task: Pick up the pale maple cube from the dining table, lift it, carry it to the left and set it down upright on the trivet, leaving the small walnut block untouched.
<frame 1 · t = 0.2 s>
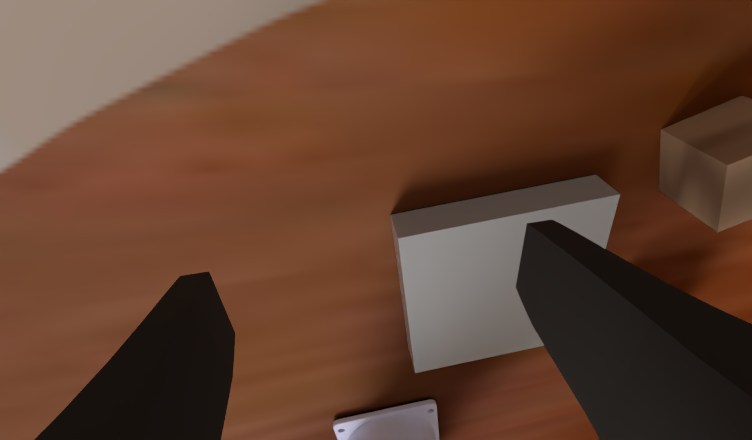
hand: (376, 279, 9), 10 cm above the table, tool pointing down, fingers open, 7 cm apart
trivet: (490, 271, 24), on the table
walnut block: (696, 145, 21), on the table
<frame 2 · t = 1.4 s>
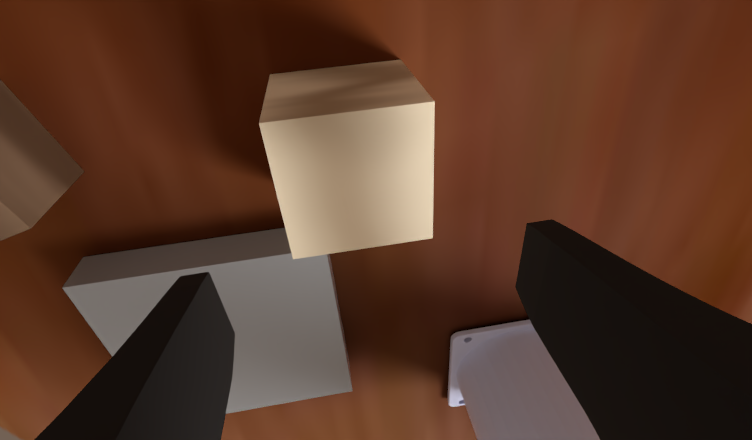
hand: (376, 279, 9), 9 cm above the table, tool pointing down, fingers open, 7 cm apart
trivet: (238, 318, 22), on the table
maple cube: (343, 127, 17), on the table
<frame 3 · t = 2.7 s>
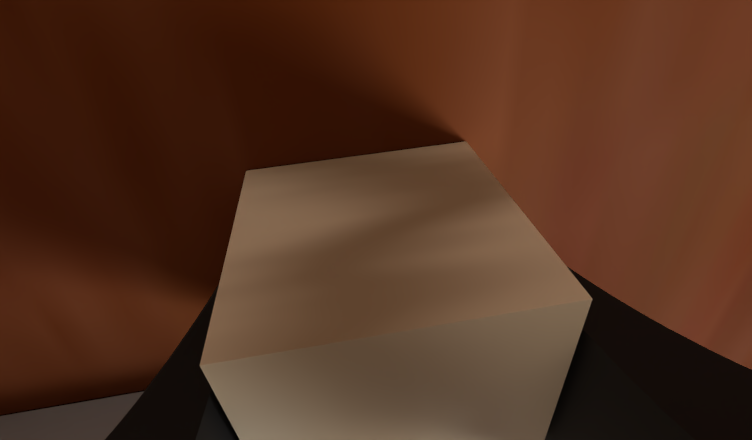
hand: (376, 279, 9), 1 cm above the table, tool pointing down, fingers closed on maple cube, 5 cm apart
maple cube: (367, 242, 11), on the table, touching gripper
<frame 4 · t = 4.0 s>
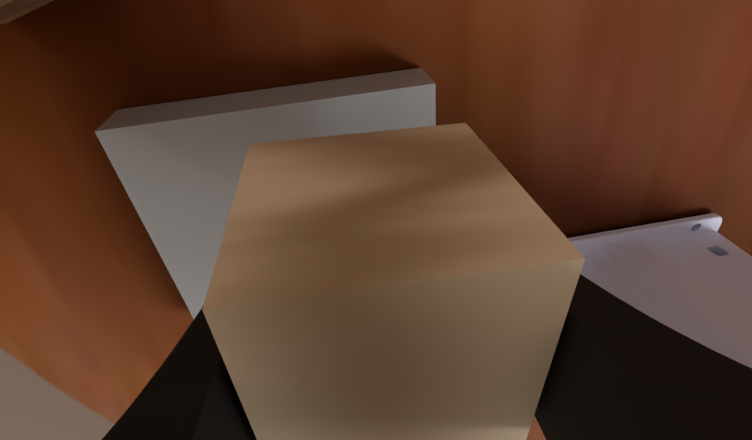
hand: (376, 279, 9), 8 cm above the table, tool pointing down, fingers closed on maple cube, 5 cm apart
trivet: (302, 211, 18), on the table
maple cube: (366, 222, 11), point 7 cm above the table, touching gripper
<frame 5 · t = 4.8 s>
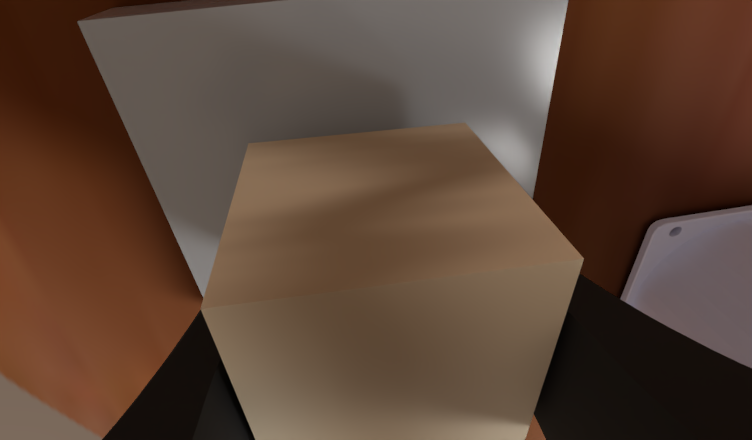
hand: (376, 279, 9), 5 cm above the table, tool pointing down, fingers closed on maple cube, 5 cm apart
trivet: (353, 171, 14), on the table
maple cube: (365, 221, 11), point 3 cm above the table, touching gripper
when the fingers open (5 cm above the table, at t = 5.4 s): maple cube stays where it is, resting on trivet.
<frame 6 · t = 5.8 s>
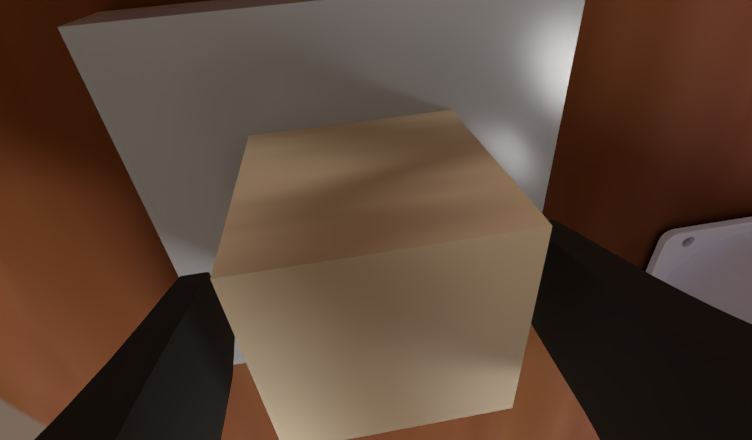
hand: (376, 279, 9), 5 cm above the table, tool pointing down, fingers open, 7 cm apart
trivet: (355, 182, 13), on the table
maple cube: (361, 207, 11), point 2 cm above the table, touching trivet
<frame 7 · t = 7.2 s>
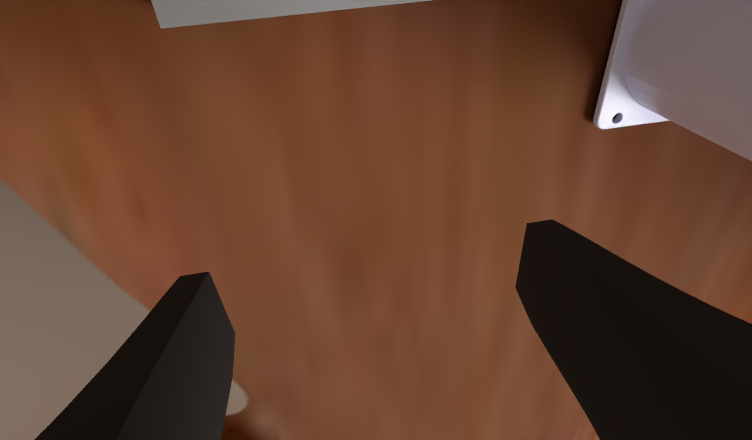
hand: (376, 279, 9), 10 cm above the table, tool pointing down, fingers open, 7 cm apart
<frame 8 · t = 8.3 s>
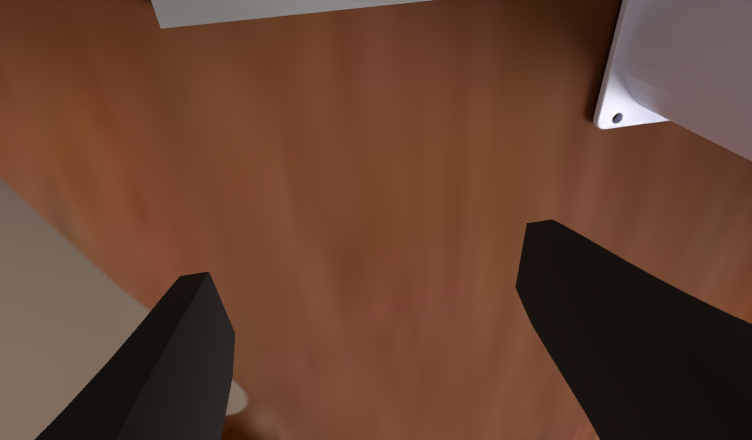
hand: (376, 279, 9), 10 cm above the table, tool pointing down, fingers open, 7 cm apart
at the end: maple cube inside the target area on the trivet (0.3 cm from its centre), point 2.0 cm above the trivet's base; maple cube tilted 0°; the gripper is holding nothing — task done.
